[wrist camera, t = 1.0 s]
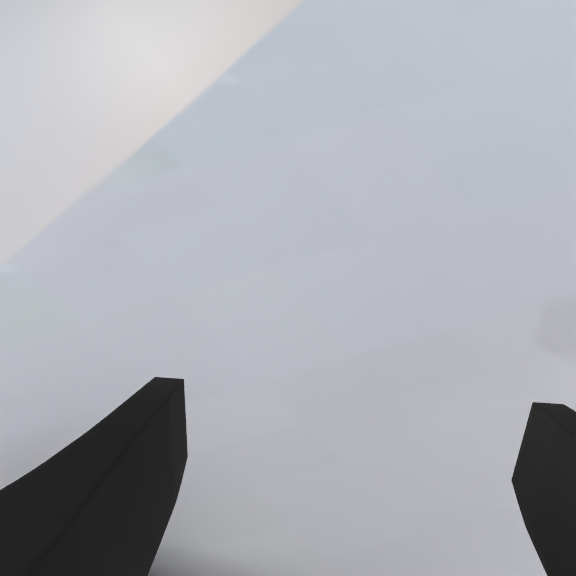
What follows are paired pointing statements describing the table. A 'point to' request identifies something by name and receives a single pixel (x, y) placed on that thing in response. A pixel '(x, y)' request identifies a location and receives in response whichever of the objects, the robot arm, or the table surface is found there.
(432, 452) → the table surface
